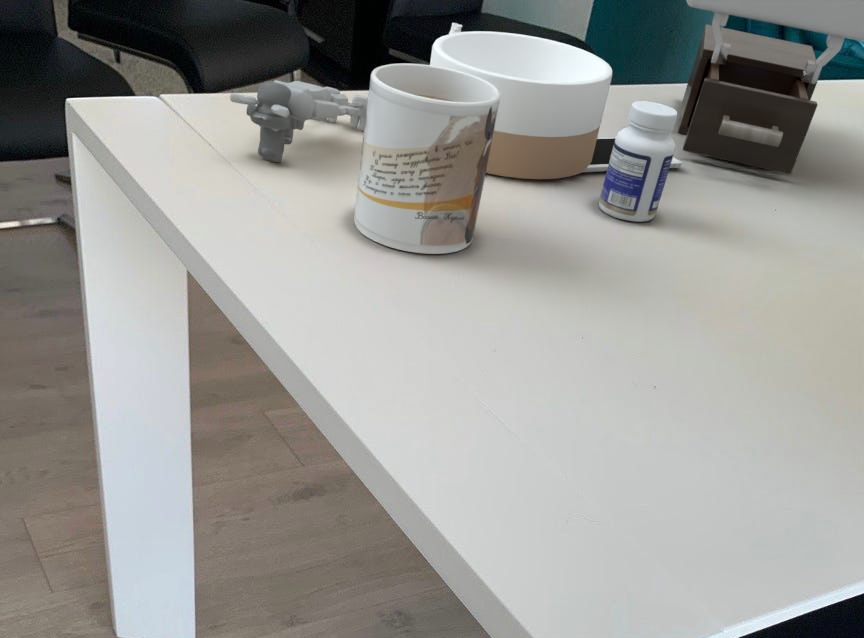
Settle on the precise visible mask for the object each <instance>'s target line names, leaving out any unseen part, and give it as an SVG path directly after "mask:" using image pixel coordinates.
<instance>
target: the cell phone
mask: <svg viewBox="0 0 864 638" xmlns="http://www.w3.org/2000/svg"><path fill="white" fill-rule="evenodd" d="M615 139H616V136H615V137H613V136H612V137H597V141H596V145H595V149H594V153H593V158H592V162H591V163H590V164H589V166H588V167H587V169H586V170H585V171H583V172H582V173H597V172H598V173H599V172H607V169H608V165H609V161H610V157H611V153H612V149H613V146H614V142H615ZM682 163H683V162H682V161H681V160H680V159H677V158H676V157H674V156H673V158H672V161H671V165H670V168H669V169H680V168H681V167H682Z"/></svg>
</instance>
